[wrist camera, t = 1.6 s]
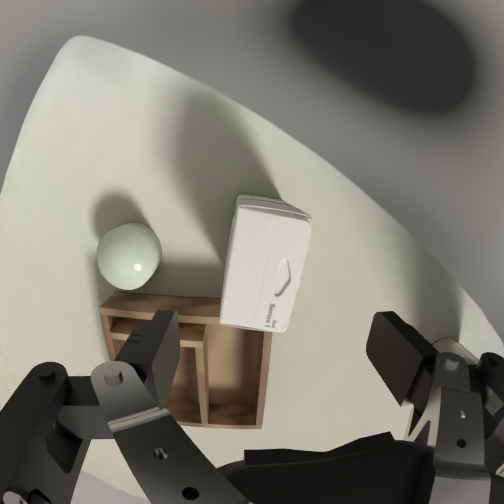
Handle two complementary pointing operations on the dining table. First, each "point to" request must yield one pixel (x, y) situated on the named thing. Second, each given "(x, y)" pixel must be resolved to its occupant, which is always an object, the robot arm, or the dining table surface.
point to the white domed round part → (129, 255)
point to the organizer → (201, 359)
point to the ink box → (263, 263)
